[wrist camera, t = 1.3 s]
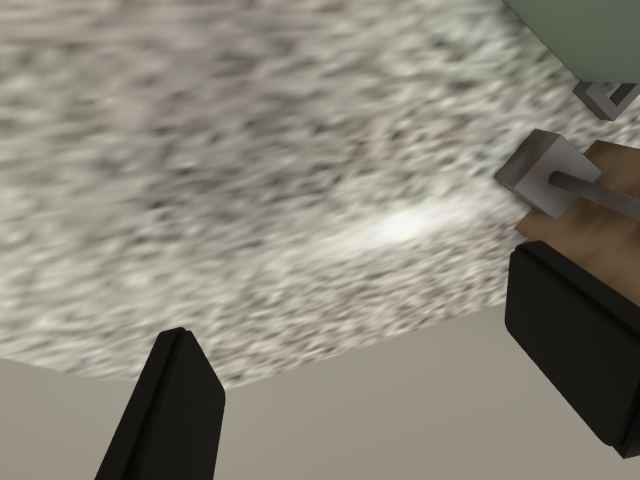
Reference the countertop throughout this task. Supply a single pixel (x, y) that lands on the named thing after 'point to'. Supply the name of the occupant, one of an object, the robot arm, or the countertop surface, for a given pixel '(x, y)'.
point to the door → (591, 45)
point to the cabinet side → (582, 204)
